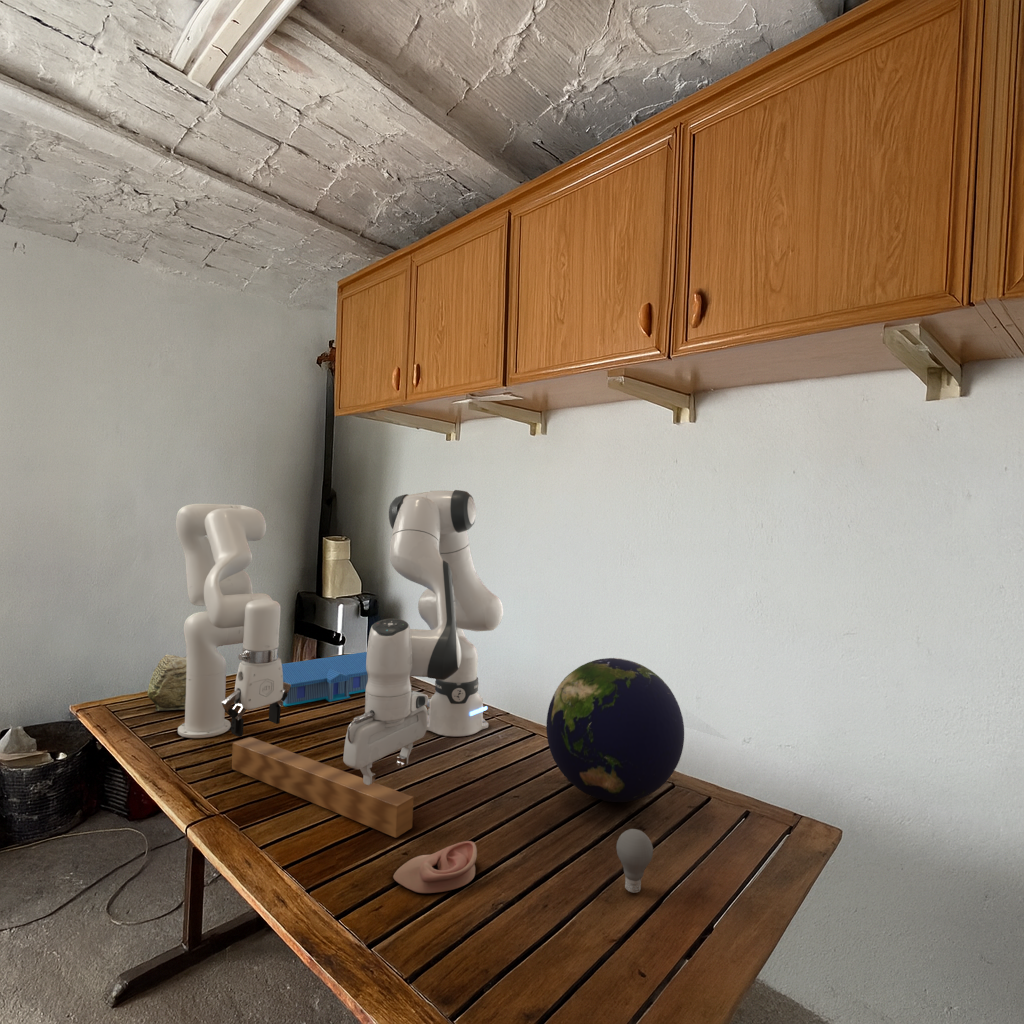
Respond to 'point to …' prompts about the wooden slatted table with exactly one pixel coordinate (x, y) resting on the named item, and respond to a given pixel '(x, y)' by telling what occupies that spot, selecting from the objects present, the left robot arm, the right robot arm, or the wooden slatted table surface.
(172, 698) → the fossil
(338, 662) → the model building
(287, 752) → the bar
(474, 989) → the wooden slatted table surface
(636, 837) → the light bulb
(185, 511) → the left robot arm
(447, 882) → the anatomical model
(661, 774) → the globe
